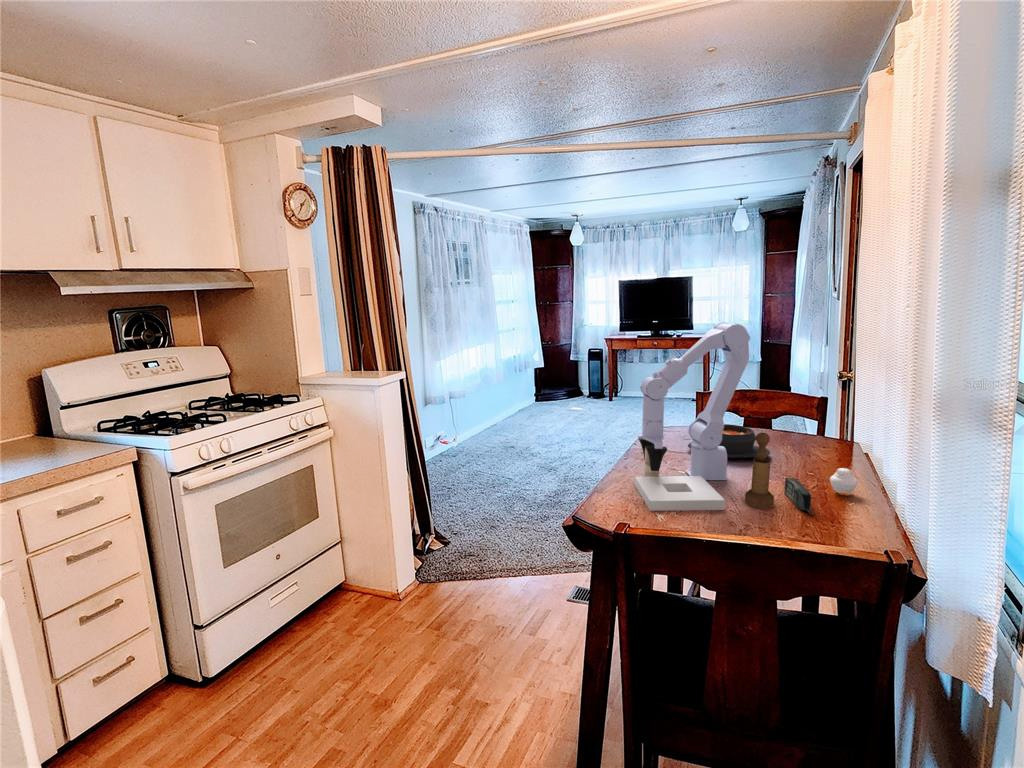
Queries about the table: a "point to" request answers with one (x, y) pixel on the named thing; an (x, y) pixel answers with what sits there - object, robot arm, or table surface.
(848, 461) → the table surface
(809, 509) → the dark grey oblong block
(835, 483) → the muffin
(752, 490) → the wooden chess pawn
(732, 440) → the casserole
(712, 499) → the socket
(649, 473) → the peg
